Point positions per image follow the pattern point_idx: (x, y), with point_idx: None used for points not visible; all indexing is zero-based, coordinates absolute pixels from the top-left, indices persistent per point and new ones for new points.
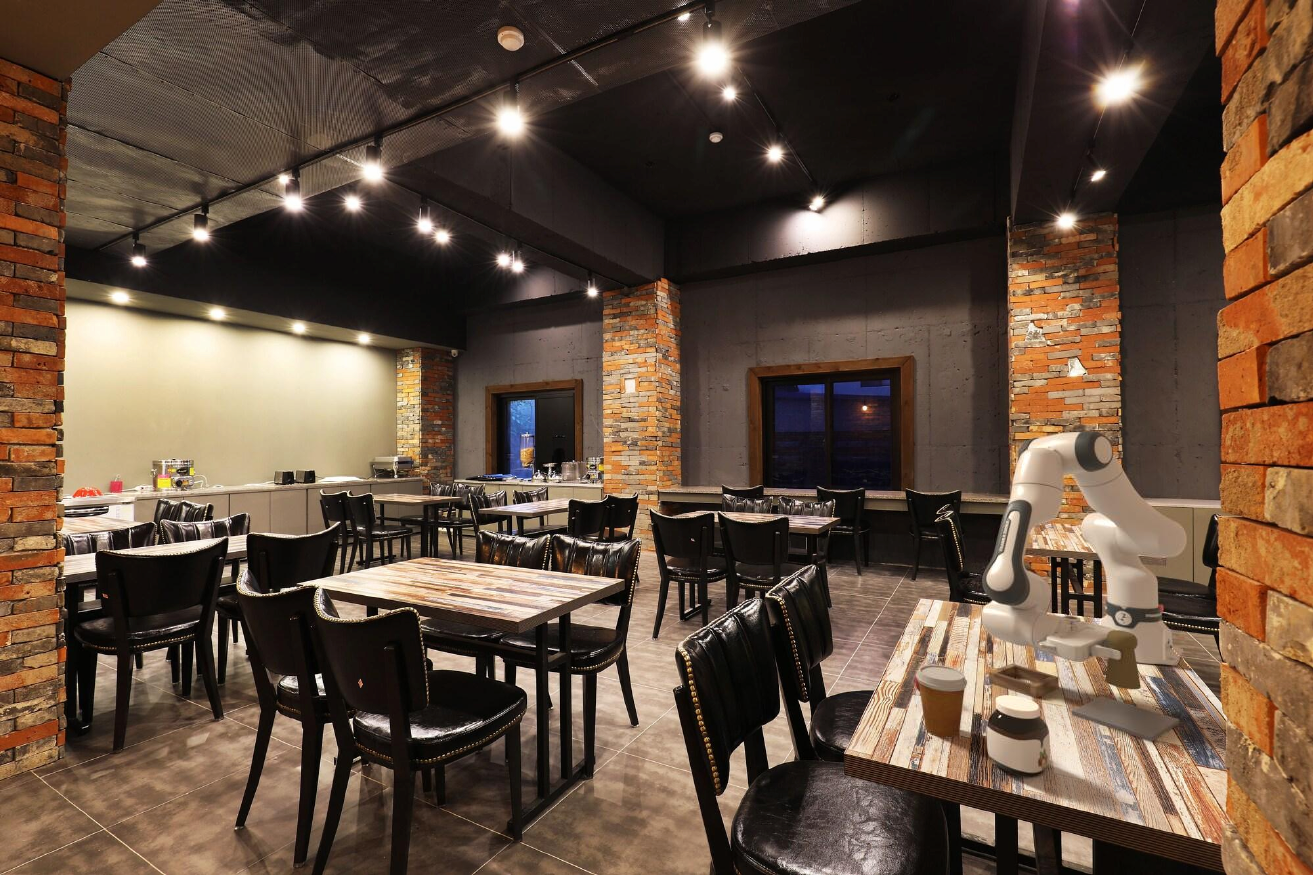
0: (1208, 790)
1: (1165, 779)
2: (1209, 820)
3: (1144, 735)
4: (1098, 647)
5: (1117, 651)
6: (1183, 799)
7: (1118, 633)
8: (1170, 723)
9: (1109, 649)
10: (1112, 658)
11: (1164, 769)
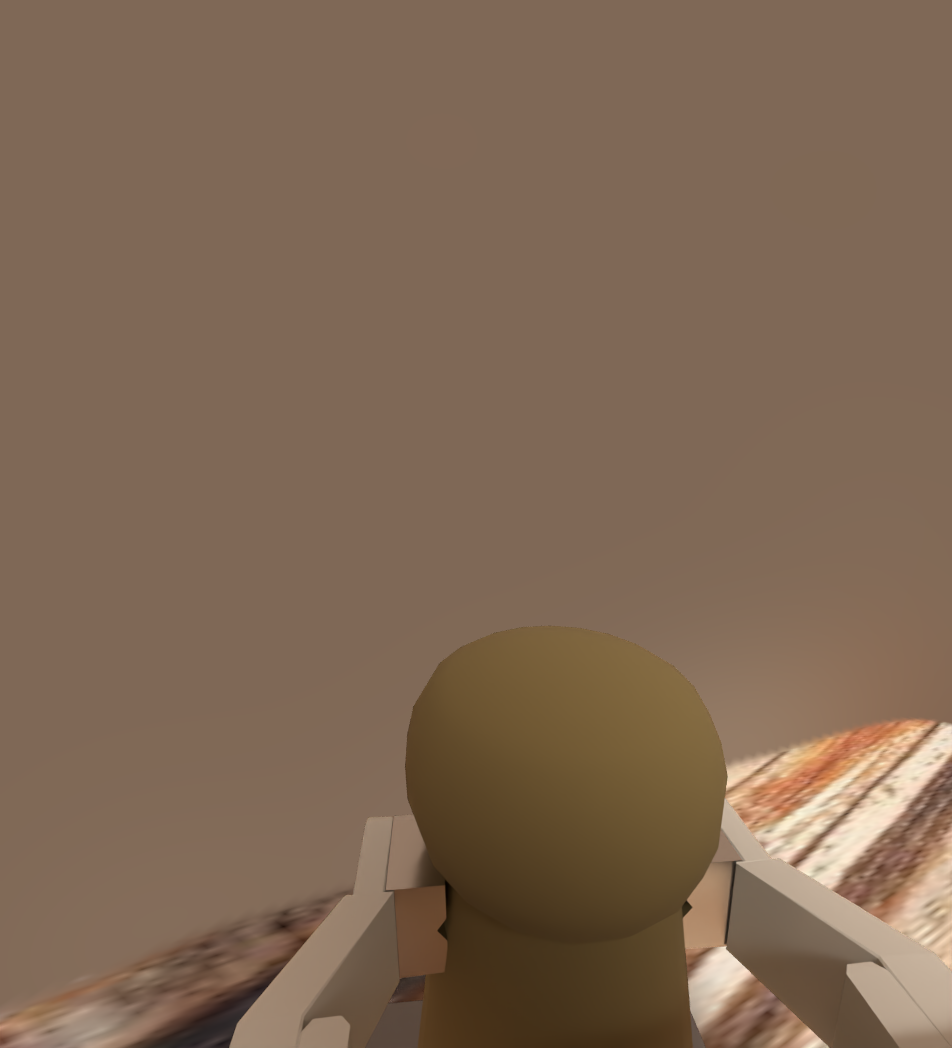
0: (771, 765)
1: (867, 829)
2: (881, 728)
3: (690, 1012)
4: (930, 955)
5: (725, 801)
6: (886, 773)
7: (648, 663)
8: (411, 1010)
9: (780, 862)
10: (685, 977)
11: (820, 856)
